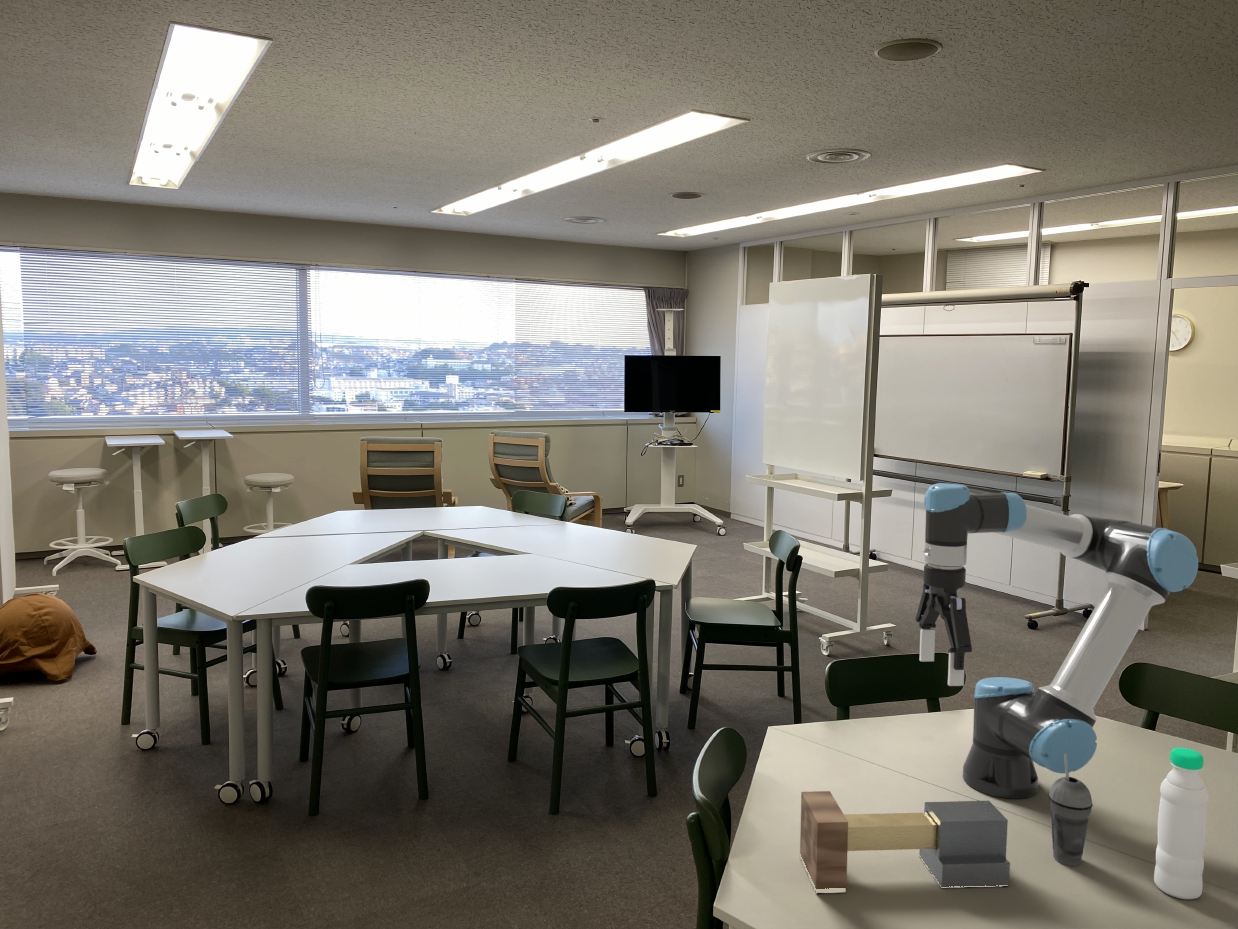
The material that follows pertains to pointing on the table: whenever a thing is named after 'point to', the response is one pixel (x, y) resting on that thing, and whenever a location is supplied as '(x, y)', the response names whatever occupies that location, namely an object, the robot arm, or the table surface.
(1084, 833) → the beverage cup
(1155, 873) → the water bottle
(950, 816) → the sleeve
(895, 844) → the rail
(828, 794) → the socket block
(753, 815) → the table surface
